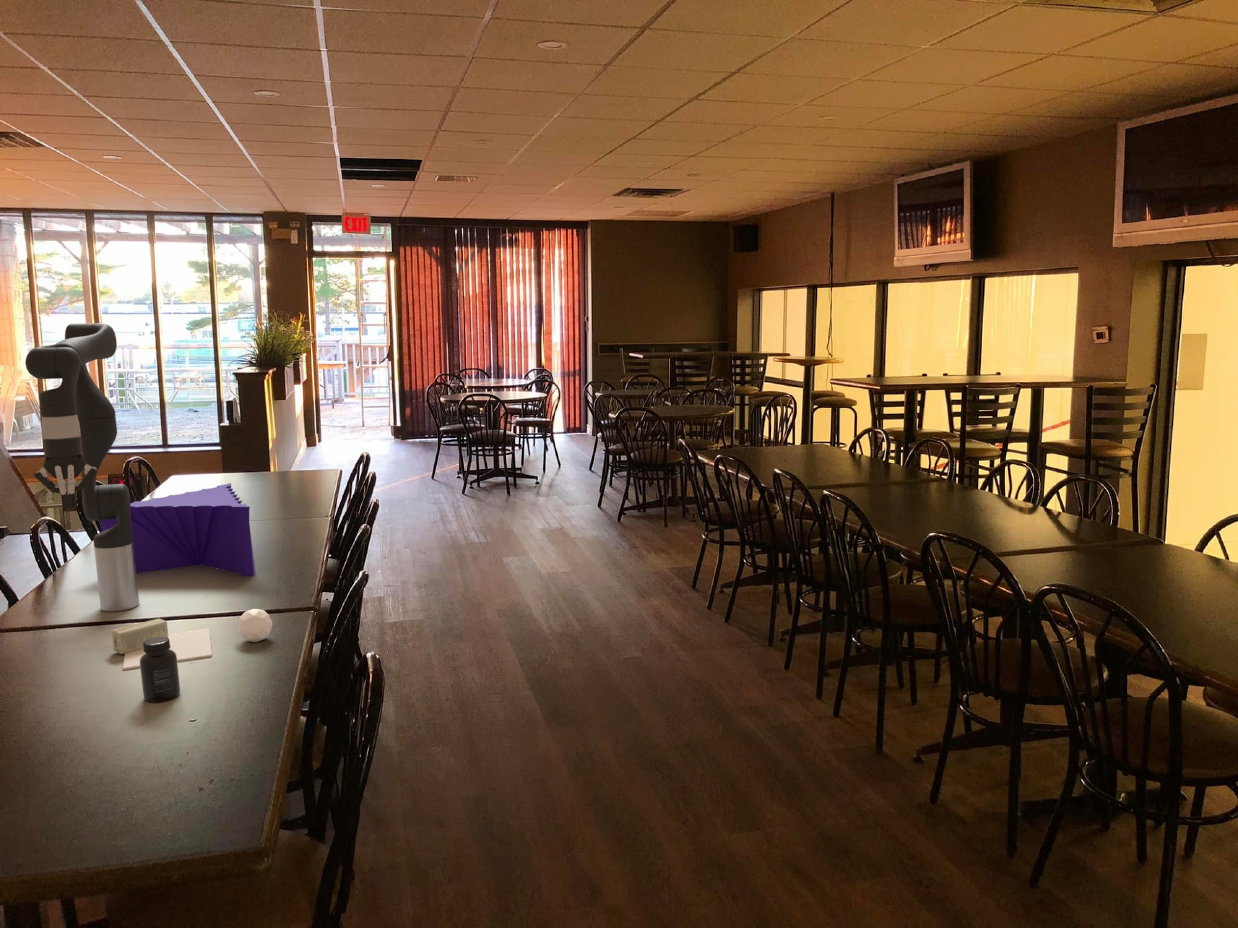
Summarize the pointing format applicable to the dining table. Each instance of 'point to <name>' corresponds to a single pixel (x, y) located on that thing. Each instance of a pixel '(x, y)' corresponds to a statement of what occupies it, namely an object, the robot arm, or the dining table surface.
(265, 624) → the geometric ball
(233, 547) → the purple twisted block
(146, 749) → the dining table surface
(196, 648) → the mat
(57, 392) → the robot arm
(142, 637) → the box
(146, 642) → the supplement bottle
